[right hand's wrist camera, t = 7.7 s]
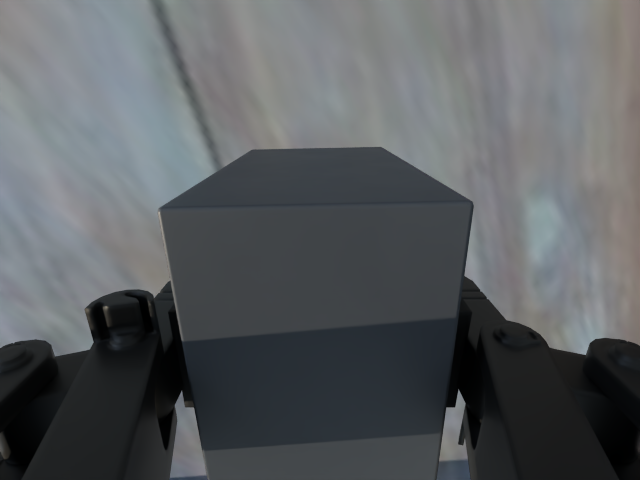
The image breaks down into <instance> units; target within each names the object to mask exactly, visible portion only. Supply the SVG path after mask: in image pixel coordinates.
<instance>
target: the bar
mask: <svg viewBox="0 0 640 480" xmlns="http://www.w3.org/2000/svg"><path fill="white" fill-rule="evenodd" d="M473 207H474V205H473V202H472V201H470V200H469V199H467V198H465V197H464V196H462V195H460V194H459V193H457V192H455V191H454V190H452V189H450V188H449V187H447V186H445V185H444V184H442V183H440V182H439V181H437V180H435V179H434V178H432V177H430V176H429V175H427V174H425V173H424V172H422V171H420V170H419V169H417V168H415V167H414V166H412V165H410V164H409V163H407V162H405V161H404V160H402V159H400V158H399V157H397V156H395V155H394V154H392V153H390V152H389V151H387V150H385V149H384V148H382V147H359V148H311V149H264V150H251V151H249V152H248V153H246V154H245V155H243V156H241V157H240V158H238V159H237V160H235V161H233V162H232V163H230V164H229V165H227V166H225V167H224V168H222V169H221V170H219V171H217V172H216V173H214V174H213V175H211V176H209V177H208V178H206V179H205V180H203V181H201V182H200V183H198V184H197V185H195V186H193V187H192V188H190V189H189V190H187V191H185V192H184V193H182V194H181V195H179V196H178V197H176V198H174V199H173V200H171V201H170V202H168V203H166V204H165V205H163V206H162V207H160V208H159V209H158V217H159V223H160V228H161V233H162V239H163V244H164V249H165V255H166V260H167V265H168V271H169V276H170V281H171V287H172V292H173V297H174V303H175V308H176V313H177V318H178V324H179V329H180V334H181V340H182V345H183V350H184V356H185V361H186V366H187V372H188V377H189V382H190V388H191V393H192V398H193V404H194V409H195V414H196V420H197V425H198V430H199V436H200V441H201V446H202V452H203V457H204V462H205V468H206V473H207V478H208V480H436V478H437V471H438V464H439V456H440V449H441V442H442V434H443V427H444V420H445V412H446V405H447V398H448V390H449V383H450V376H451V368H452V361H453V354H454V346H455V339H456V332H457V324H458V317H459V310H460V302H461V295H462V288H463V280H464V273H465V266H466V258H467V251H468V244H469V237H470V229H471V222H472V215H473Z"/></svg>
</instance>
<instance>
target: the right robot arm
mask: <svg viewBox="0 0 640 480" xmlns="http://www.w3.org/2000/svg"><path fill="white" fill-rule="evenodd" d="M85 312H86V316H87V319H88V323H89V327H90V330H91V334H92V337H93V341H94V343H93V345H92V347H91V349H90V350H86V351H82V352H77V353H72V354H66V355H61V356H56V357H55V355H54V352H53V349H52V346H51V345H50V344H49V343H48V342H46V341H42V340H28V341H19V342H15V343H14V344H13V343H11V344H8V345H5V346H3V347H2V348H0V480H169V478H170V471H171V463H172V456H173V448H174V441H175V434H176V426H177V416H176V410H175V403H176V401H177V399H178V397H179V395H180V393H181V391H182V392H183V398H184V403H185V407H194V404H193V398H192V393H191V388H190V382H189V377H188V372H187V366H186V361H185V356H184V350H183V345H182V340H181V334H180V329H179V324H178V318H177V313H176V308H175V303H174V297H173V292H172V287H171V281H169V282H168V283H167V284H166V285H165V286H164V287H163V289H162V290H161V291H160V293H158V294H157V296H156V297H155V298H154V297H153V295H152V294H151V293H150V292H148V291H144V290H124V291H119V292H114V293H111V294H108V295H105V296H103V297H100V298H99V299H97V300H95V301H93V302H92V303H90V304H89V305H88V306H87V307H86V308H85ZM458 388H459V391H460V393H461V395H462V397H463V399H464V401H465V403H466V405H465V410H464V415H463V420H462V425H461V430H460V435H459V442H458V444H459V445H463V444H464V439H465V440H466V448H467V455H468V462H469V470H470V477H471V480H640V346H639V345H637V344H635V343H632V342H629V341H628V342H627V341H625V340H620V339H610V338H601V339H595V340H594V341H592V342H591V343H590V345H589V347H588V350H587V353H586V355H582V354H577V353H572V352H567V351H562V350H556V349H552V348H549V346H548V344H547V342H546V341H545V340H544V339H543V337H542V336H541V335H540V334H539V333H537V332H536V331H534V330H532V329H531V328H529V327H527V326H524V325H522V324H519V323H516V322H511V321H507V320H506V319H505V318H504V317H503V316H502V315H501V314H500V312H499V311H498V310H497V309H496V308H495V307H494V305H493V304H492V303H491V302H490V301H489V300H488V299H487V297H486V296H485V295H484V294H483V293H482V292H480V289H479V288H478V287H477V286H476V284H475V283H474V282H473V281H472V280H470V279H468V278H467V277H465V276H464V280H463V288H462V295H461V302H460V310H459V317H458V324H457V332H456V339H455V346H454V354H453V361H452V368H451V376H450V383H449V390H448V398H447V405H446V407H455V405H456V399H457V394H458Z"/></svg>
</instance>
